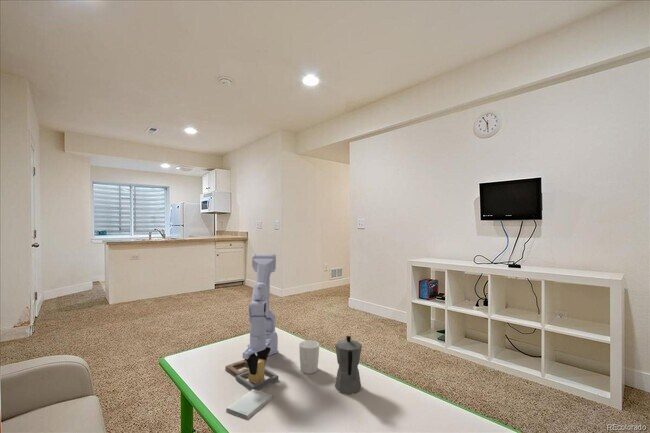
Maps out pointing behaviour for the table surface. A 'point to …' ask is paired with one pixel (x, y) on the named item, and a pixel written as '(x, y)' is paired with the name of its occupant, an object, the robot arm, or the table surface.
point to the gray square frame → (261, 384)
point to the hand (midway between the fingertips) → (257, 371)
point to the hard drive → (249, 403)
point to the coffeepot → (348, 366)
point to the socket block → (232, 367)
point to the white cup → (309, 356)
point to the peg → (258, 372)
